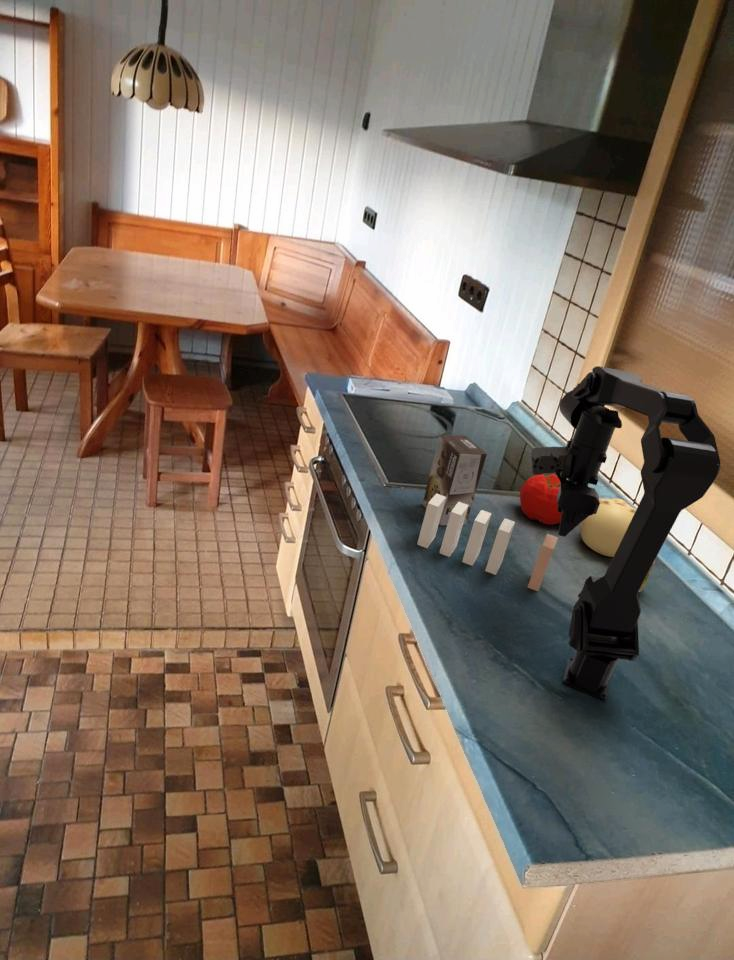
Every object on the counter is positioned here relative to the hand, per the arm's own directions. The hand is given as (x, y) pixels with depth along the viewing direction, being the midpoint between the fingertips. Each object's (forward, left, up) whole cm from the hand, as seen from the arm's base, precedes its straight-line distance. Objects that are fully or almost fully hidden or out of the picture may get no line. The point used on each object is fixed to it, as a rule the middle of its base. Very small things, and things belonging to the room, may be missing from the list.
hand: (560, 523), depth 122 cm
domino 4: (0, +9, -13) cm, 16 cm away
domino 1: (0, +22, -13) cm, 26 cm away
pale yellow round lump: (+24, -9, -13) cm, 29 cm away
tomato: (+28, +5, -13) cm, 31 cm away
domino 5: (0, +1, -13) cm, 13 cm away
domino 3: (0, +13, -13) cm, 18 cm away
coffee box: (+13, +23, -13) cm, 29 cm away
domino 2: (0, +18, -13) cm, 22 cm away
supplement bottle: (+12, -15, -13) cm, 24 cm away
